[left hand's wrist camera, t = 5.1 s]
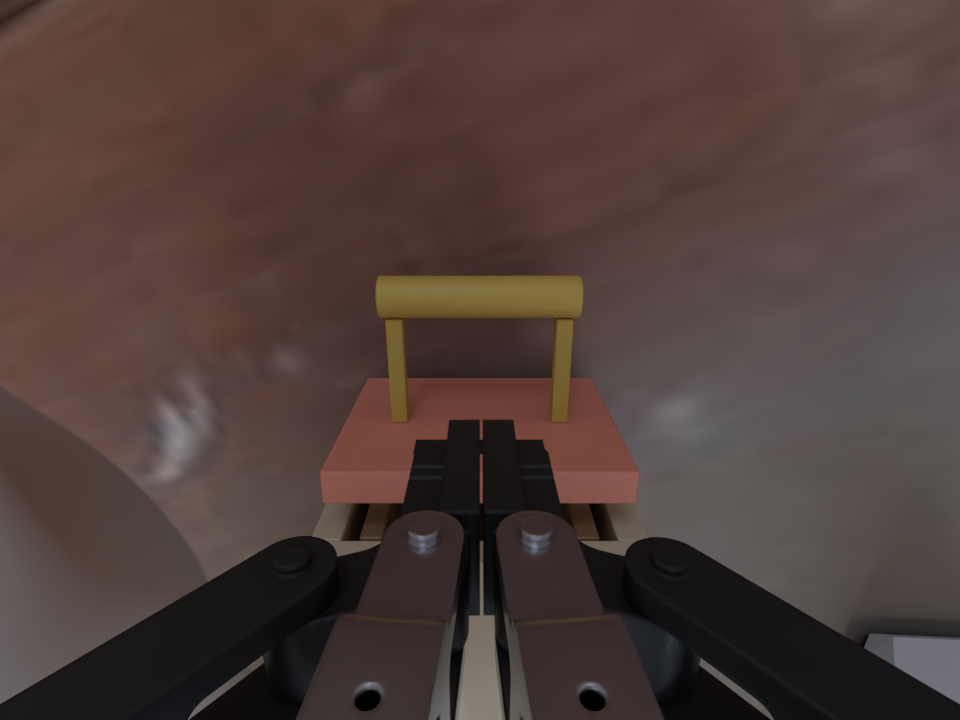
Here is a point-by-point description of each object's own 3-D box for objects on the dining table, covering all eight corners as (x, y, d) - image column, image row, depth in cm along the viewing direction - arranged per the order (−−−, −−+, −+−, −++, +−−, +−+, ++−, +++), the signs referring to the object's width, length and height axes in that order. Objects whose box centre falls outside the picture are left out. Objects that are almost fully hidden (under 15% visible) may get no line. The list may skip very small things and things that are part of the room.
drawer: (357, 255, 22) (297, 302, 15) (601, 255, 22) (660, 302, 15) (389, 653, 30) (360, 813, 22) (569, 653, 30) (599, 812, 22)
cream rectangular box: (362, 419, 26) (298, 562, 17) (596, 418, 26) (660, 562, 17) (385, 687, 32) (348, 900, 23) (573, 687, 32) (611, 900, 23)
